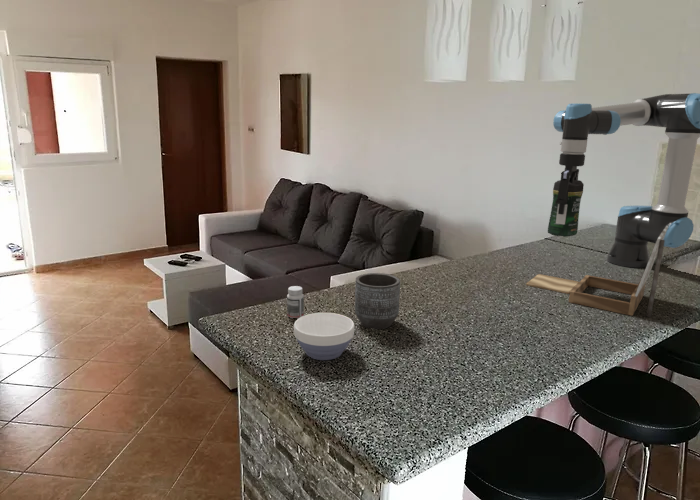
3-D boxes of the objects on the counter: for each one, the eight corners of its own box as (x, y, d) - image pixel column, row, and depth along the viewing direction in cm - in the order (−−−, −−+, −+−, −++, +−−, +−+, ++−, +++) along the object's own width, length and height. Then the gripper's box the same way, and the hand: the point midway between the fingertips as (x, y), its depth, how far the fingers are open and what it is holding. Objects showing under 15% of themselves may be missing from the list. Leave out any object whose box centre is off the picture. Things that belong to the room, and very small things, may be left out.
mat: (538, 275, 188) (538, 273, 188) (578, 283, 180) (579, 281, 180) (525, 285, 177) (526, 283, 177) (568, 293, 170) (568, 292, 169)
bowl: (305, 371, 116) (305, 340, 114) (286, 345, 129) (286, 316, 127) (363, 360, 122) (364, 330, 120) (340, 336, 134) (340, 309, 132)
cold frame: (584, 284, 179) (594, 217, 173) (658, 298, 167) (672, 226, 160) (568, 302, 162) (578, 227, 156) (649, 319, 149) (664, 239, 143)
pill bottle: (296, 311, 150) (296, 284, 148) (307, 316, 147) (307, 288, 145) (283, 315, 147) (283, 287, 145) (294, 320, 144) (293, 292, 142)
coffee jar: (564, 238, 168) (572, 181, 163) (543, 234, 174) (549, 178, 169) (581, 235, 173) (588, 179, 168) (560, 230, 179) (566, 177, 174)
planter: (347, 318, 146) (348, 275, 143) (385, 312, 151) (387, 270, 147) (365, 335, 135) (367, 289, 132) (406, 328, 140) (408, 283, 137)
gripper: (568, 150, 177) (560, 215, 183) (551, 154, 160) (543, 225, 166) (592, 152, 173) (583, 217, 179) (577, 155, 156) (567, 228, 162)
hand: (564, 221), depth 172 cm, fingers closed on coffee jar, 9 cm apart
